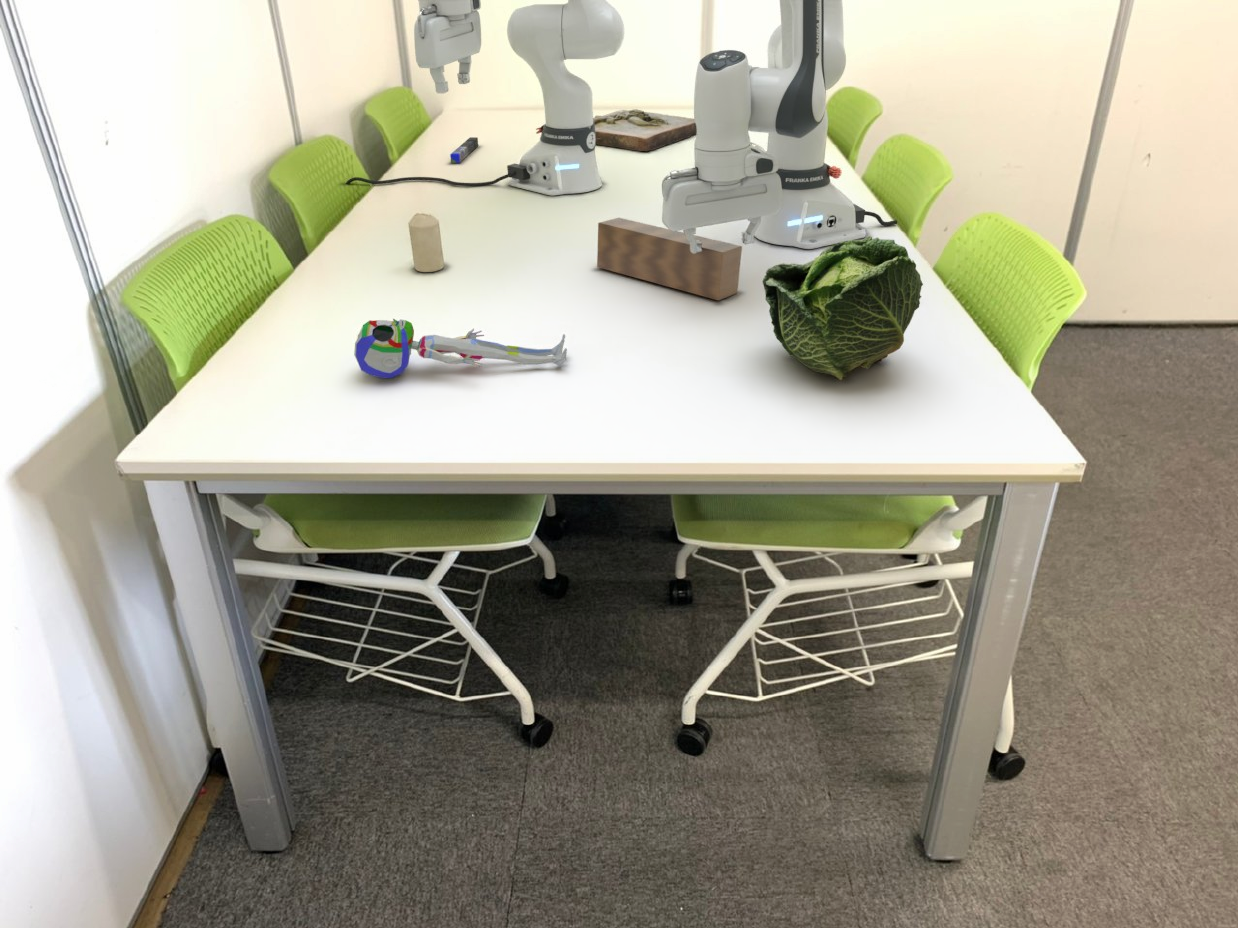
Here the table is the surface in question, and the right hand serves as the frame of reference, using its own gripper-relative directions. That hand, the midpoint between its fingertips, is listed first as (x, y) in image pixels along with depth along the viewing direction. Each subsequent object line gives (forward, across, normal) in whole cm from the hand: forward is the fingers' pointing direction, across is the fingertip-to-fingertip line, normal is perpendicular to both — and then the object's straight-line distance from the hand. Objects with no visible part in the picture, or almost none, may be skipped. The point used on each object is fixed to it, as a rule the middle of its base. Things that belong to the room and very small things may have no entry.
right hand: (722, 247), depth 151 cm
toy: (+6, -47, -14) cm, 50 cm away
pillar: (+6, -24, +117) cm, 119 cm away
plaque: (+8, +26, +121) cm, 124 cm away
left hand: (-23, -35, +40) cm, 58 cm away
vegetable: (+9, +4, -31) cm, 33 cm away
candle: (+6, -46, +31) cm, 56 cm away
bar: (+8, -7, +10) cm, 14 cm away
